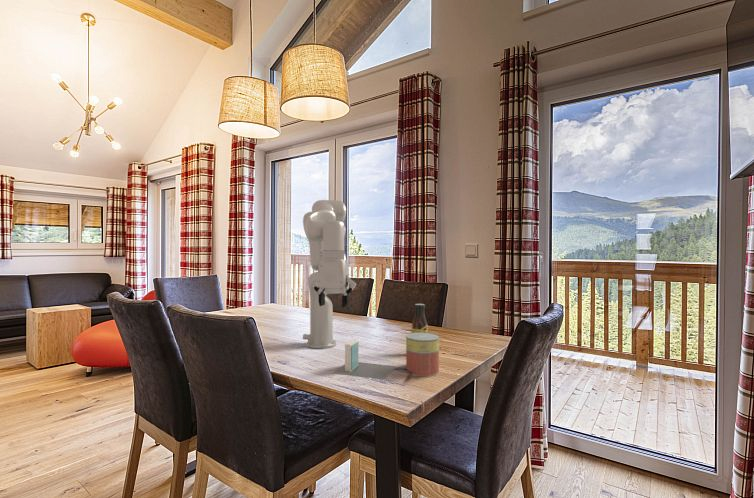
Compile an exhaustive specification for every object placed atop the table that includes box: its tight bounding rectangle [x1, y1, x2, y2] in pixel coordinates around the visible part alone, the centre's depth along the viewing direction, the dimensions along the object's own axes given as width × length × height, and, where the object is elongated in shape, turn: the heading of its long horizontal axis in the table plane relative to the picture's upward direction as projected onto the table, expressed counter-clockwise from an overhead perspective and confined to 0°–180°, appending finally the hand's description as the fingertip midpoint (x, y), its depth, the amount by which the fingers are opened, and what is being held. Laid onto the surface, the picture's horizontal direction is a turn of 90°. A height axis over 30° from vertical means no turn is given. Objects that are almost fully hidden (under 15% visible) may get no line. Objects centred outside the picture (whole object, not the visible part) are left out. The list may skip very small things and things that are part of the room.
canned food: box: [405, 332, 440, 378], centre depth 132 cm, size 11×11×12 cm
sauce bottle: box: [411, 303, 429, 333], centre depth 151 cm, size 7×6×20 cm
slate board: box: [332, 361, 397, 381], centre depth 130 cm, size 18×14×1 cm
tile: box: [344, 338, 359, 372], centre depth 131 cm, size 2×7×9 cm, turn 162°
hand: (333, 305), depth 133 cm, fingers open, 8 cm apart
